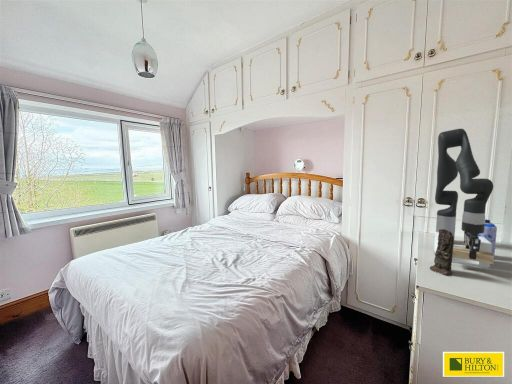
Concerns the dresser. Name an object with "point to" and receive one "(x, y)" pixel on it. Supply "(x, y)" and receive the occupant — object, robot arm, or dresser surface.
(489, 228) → the aerosol can
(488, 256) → the shelf board
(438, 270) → the statue
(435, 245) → the cabinet bay
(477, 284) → the dresser surface
